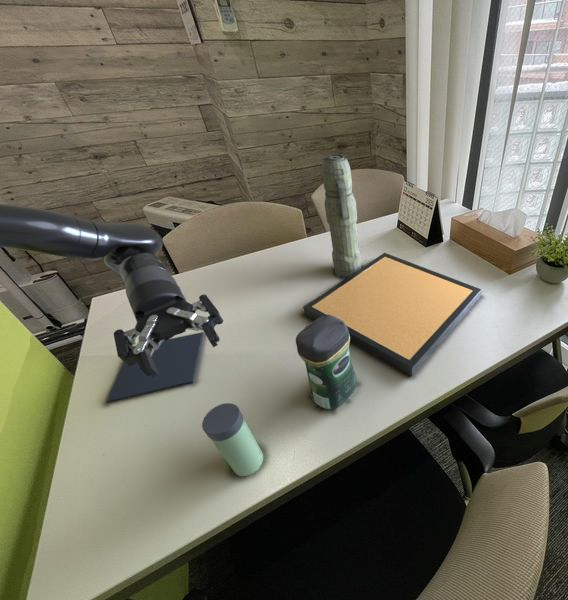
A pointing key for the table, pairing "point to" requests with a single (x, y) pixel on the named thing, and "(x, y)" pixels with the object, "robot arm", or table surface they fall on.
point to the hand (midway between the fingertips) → (184, 357)
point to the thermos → (341, 215)
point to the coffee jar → (327, 361)
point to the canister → (233, 438)
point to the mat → (160, 369)
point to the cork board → (397, 309)
